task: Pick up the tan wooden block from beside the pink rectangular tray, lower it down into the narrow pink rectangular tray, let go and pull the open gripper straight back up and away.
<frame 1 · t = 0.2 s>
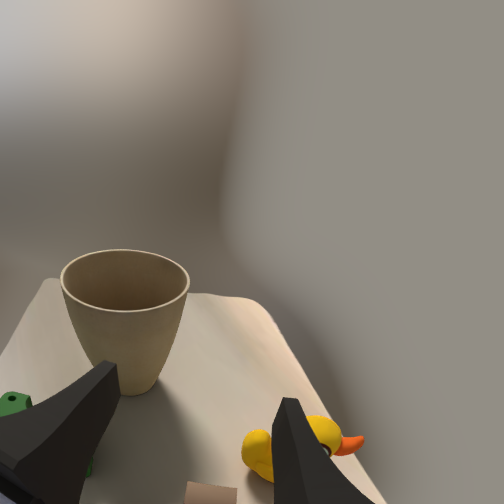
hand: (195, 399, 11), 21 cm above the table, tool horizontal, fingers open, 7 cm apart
plant pot: (128, 378, 36), on the table
duckling: (283, 473, 27), on the table
clamp: (51, 446, 22), on the table
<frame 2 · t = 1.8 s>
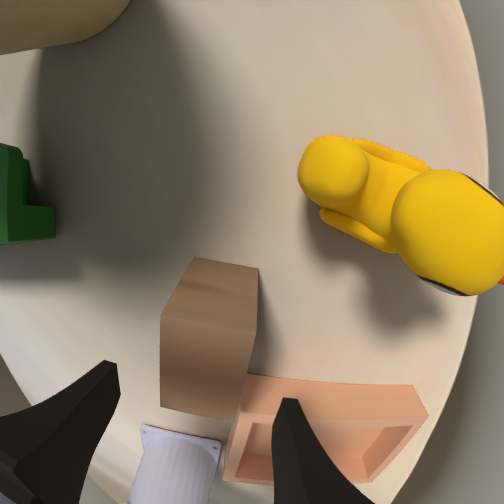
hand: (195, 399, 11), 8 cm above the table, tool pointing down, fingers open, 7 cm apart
pink rectangular tray: (316, 424, 23), on the table
plant pot: (90, 2, 13), on the table
duckling: (373, 193, 17), on the table
tan wooden block: (219, 304, 20), on the table
clamp: (12, 197, 18), on the table
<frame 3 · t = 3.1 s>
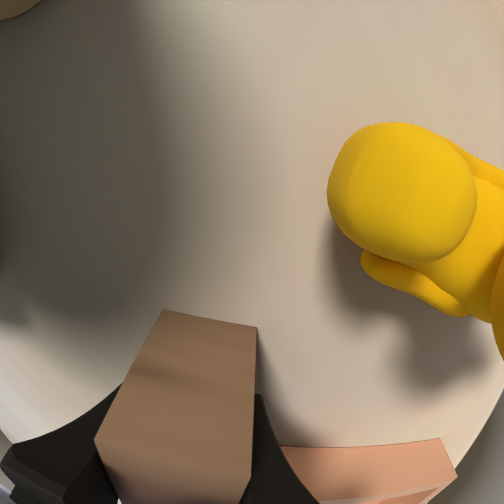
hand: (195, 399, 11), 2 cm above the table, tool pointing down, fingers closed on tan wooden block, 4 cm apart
pink rectangular tray: (325, 483, 17), on the table
duckling: (427, 216, 11), on the table
tan wooden block: (202, 370, 13), on the table, touching gripper
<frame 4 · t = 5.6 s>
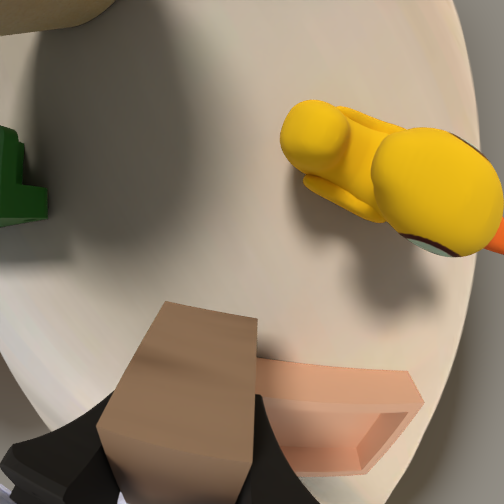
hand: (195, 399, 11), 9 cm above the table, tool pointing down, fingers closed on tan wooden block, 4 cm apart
pink rectangular tray: (308, 411, 23), on the table
duckling: (361, 166, 17), on the table
tan wooden block: (204, 362, 13), point 7 cm above the table, touching gripper
clamp: (8, 180, 18), on the table
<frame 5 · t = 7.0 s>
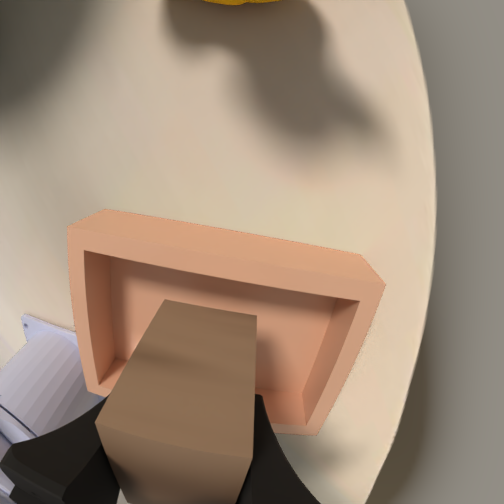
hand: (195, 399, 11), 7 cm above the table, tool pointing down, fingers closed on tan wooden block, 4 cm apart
pink rectangular tray: (216, 316, 18), on the table
medicine bottle: (144, 494, 29), on the table
tan wooden block: (204, 361, 13), point 5 cm above the table, touching gripper
when the fingers open (4 cm above the table, at t = 8.3 s): tan wooden block stays where it is, resting on pink rectangular tray.
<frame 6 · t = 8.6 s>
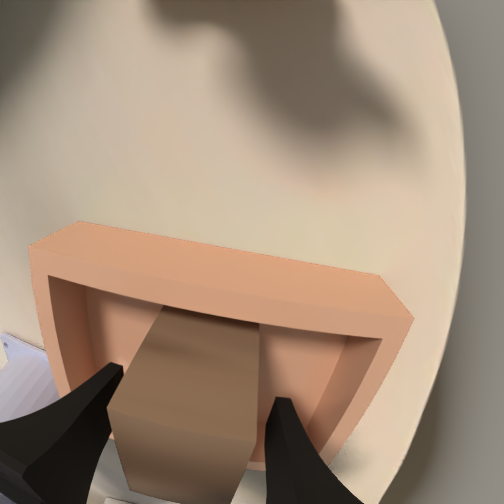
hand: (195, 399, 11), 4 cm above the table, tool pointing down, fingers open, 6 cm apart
pink rectangular tray: (209, 346, 15), on the table
tan wooden block: (207, 353, 14), point 1 cm above the table, touching pink rectangular tray
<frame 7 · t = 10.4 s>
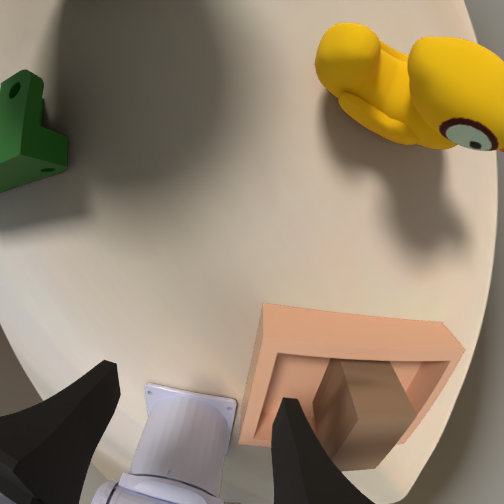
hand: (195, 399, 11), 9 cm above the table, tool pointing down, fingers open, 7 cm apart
pink rectangular tray: (342, 372, 22), on the table
duckling: (385, 103, 16), on the table
tan wooden block: (347, 377, 21), point 1 cm above the table, touching pink rectangular tray
clamp: (24, 139, 17), on the table
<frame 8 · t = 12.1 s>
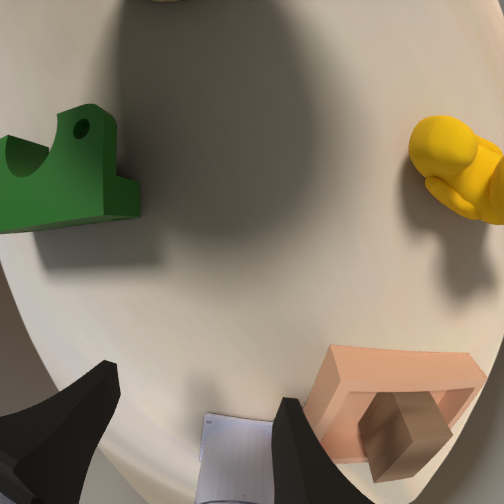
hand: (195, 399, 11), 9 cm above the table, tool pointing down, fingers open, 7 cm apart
pink rectangular tray: (385, 397, 23), on the table
duckling: (450, 171, 17), on the table
tan wooden block: (389, 402, 22), point 1 cm above the table, touching pink rectangular tray
clamp: (76, 174, 18), on the table
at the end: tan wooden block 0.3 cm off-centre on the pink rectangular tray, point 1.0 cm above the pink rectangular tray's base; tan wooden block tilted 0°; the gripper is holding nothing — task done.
